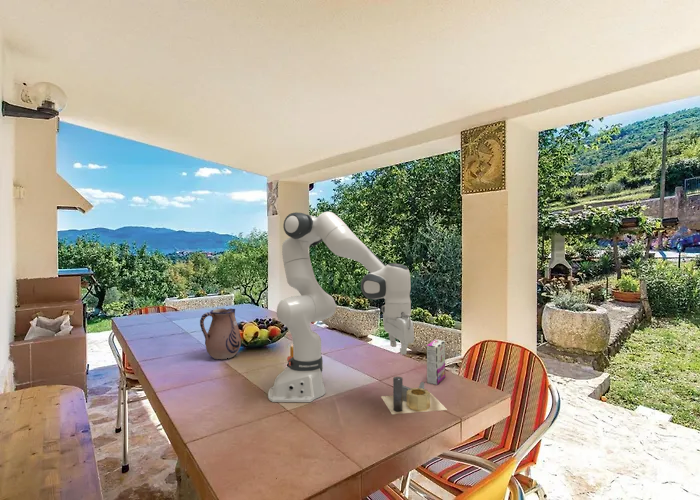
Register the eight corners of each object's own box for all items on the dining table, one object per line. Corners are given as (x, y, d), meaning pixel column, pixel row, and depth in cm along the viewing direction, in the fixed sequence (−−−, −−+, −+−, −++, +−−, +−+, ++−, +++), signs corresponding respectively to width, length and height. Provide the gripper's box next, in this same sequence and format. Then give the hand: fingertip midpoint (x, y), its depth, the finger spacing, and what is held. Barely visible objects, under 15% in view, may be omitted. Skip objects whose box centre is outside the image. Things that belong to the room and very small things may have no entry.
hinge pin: (394, 412, 126) (394, 380, 126) (392, 408, 129) (392, 376, 129) (403, 411, 126) (403, 379, 126) (400, 407, 130) (400, 376, 129)
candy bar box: (434, 375, 166) (434, 339, 166) (445, 377, 163) (445, 340, 163) (426, 383, 156) (426, 344, 156) (437, 385, 154) (437, 346, 153)
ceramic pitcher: (248, 355, 195) (247, 308, 195) (214, 366, 178) (214, 315, 177) (226, 350, 205) (226, 306, 205) (192, 360, 187) (192, 311, 187)
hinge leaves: (406, 412, 126) (406, 397, 126) (395, 396, 139) (395, 383, 138) (437, 409, 128) (437, 395, 128) (423, 394, 140) (423, 381, 140)
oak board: (392, 418, 124) (392, 414, 124) (380, 400, 139) (380, 396, 139) (447, 414, 128) (447, 409, 128) (430, 396, 142) (430, 392, 142)
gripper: (418, 315, 118) (419, 358, 118) (396, 305, 138) (396, 342, 138) (400, 316, 116) (400, 359, 117) (380, 306, 136) (380, 343, 136)
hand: (398, 350), depth 127 cm, fingers open, 8 cm apart
